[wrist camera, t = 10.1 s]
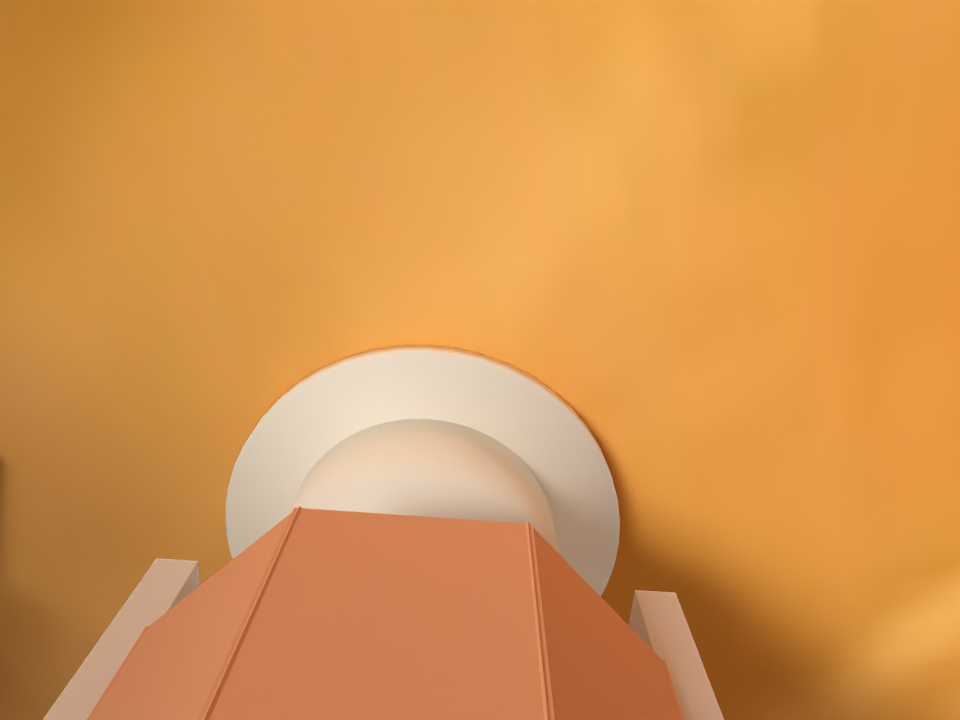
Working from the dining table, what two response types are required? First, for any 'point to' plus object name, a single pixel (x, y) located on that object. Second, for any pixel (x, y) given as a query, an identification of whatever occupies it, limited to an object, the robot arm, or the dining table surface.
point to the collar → (391, 632)
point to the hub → (430, 452)
